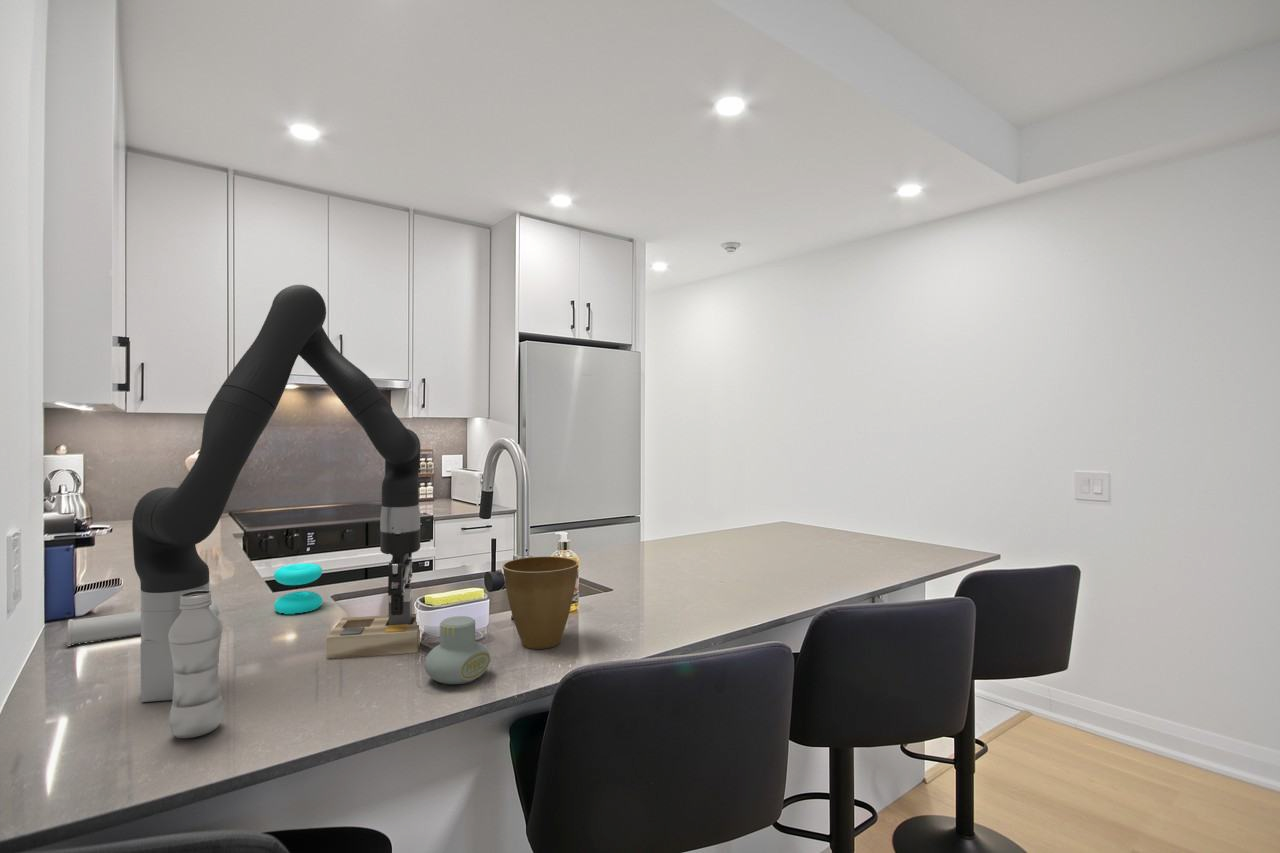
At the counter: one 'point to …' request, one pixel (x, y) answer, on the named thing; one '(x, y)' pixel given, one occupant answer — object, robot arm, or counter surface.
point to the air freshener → (457, 653)
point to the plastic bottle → (195, 667)
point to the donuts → (301, 599)
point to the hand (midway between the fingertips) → (400, 608)
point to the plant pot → (540, 597)
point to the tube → (108, 627)
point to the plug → (407, 614)
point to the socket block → (372, 637)
